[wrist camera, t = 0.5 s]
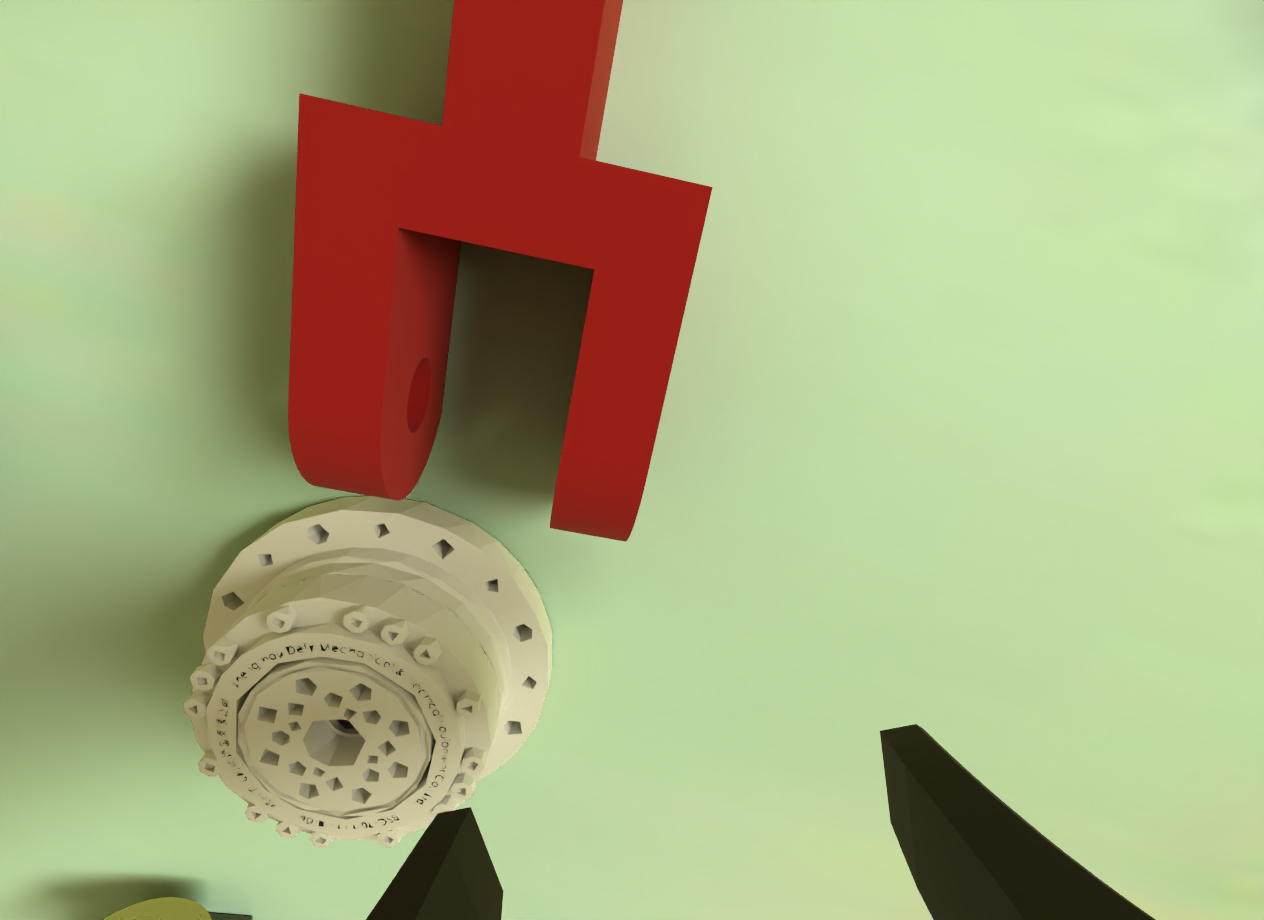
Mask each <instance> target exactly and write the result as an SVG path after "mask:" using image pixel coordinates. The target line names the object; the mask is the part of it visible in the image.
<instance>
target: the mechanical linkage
mask: <svg viewBox="0 0 1264 920" xmlns="http://www.w3.org/2000/svg"><path fill="white" fill-rule="evenodd" d="M622 3H623V0H455V1H454V11H453V21H452V31H451V41H450V51H449V61H448V71H447V81H446V91H445V101H444V111H443V121H442V126H441V125H436V124H432V123H427V122H423V121H419V120H414V119H410V118H405V117H401V116H397V115H392V114H388V113H383V112H379V111H375V110H370V109H366V108H361V107H357V106H353V105H348V104H344V103H339V102H335V101H331V100H326V99H322V98H317V97H313V96H309V95H304V94H300V96H299V124H298V152H297V180H296V208H295V236H294V264H293V292H292V320H291V348H290V376H289V404H288V422H289V435H290V443H291V448H292V453H293V456H294V460H295V463H296V465H297V468H298V470H299V471H300V473H301V475H302V476H303V478H304V479H305V480H306V481H307V482H309V483H310V484H312V485H314V486H319V487H324V488H330V489H335V490H341V491H347V492H352V493H358V494H363V495H369V496H375V497H380V498H386V499H391V500H397V501H398V500H402V499H403V498H405V497H406V496H407V495H408V494H409V493H410V492H411V491H412V489H413V488H414V487H415V485H416V483H417V482H418V480H419V478H420V476H421V474H422V472H423V470H424V468H425V465H426V463H427V460H428V458H429V455H430V452H431V449H432V446H433V443H434V440H435V436H436V433H437V429H438V425H439V421H440V417H441V412H442V404H443V395H444V387H445V378H446V369H447V360H448V352H449V343H450V334H451V325H452V317H453V308H454V299H455V290H456V281H457V273H458V264H459V255H460V246H461V241H464V242H468V243H473V244H478V245H482V246H487V247H492V248H496V249H501V250H506V251H510V252H515V253H520V254H524V255H529V256H534V257H539V258H543V259H548V260H553V261H557V262H562V263H567V264H571V265H576V266H581V267H585V268H590V269H594V274H593V280H592V286H591V291H590V297H589V302H588V308H587V314H586V319H585V325H584V330H583V336H582V341H581V347H580V353H579V358H578V364H577V369H576V375H575V381H574V386H573V392H572V397H571V403H570V409H569V414H568V420H567V425H566V431H565V436H564V442H563V448H562V453H561V459H560V464H559V470H558V476H557V482H556V488H555V494H554V500H553V506H552V513H551V521H550V528H553V529H559V530H564V531H570V532H576V533H581V534H587V535H592V536H598V537H604V538H609V539H615V540H620V541H627V539H628V538H629V536H630V534H631V531H632V528H633V526H634V523H635V520H636V516H637V513H638V509H639V506H640V502H641V498H642V495H643V490H644V486H645V482H646V478H647V474H648V469H649V465H650V460H651V456H652V452H653V447H654V443H655V438H656V434H657V429H658V425H659V421H660V416H661V412H662V407H663V403H664V399H665V394H666V390H667V385H668V381H669V376H670V372H671V368H672V363H673V359H674V354H675V350H676V346H677V341H678V337H679V332H680V328H681V323H682V319H683V315H684V310H685V306H686V301H687V297H688V293H689V288H690V284H691V279H692V275H693V270H694V266H695V262H696V257H697V253H698V248H699V244H700V239H701V235H702V231H703V226H704V222H705V217H706V213H707V209H708V204H709V200H710V195H711V191H712V187H709V186H704V185H700V184H696V183H691V182H687V181H682V180H678V179H674V178H669V177H665V176H660V175H656V174H652V173H647V172H643V171H638V170H634V169H630V168H625V167H621V166H617V165H612V164H608V163H603V162H599V161H596V156H597V150H598V144H599V138H600V132H601V126H602V120H603V115H604V109H605V103H606V97H607V91H608V85H609V79H610V74H611V68H612V62H613V56H614V50H615V44H616V38H617V33H618V27H619V21H620V15H621V9H622Z"/></svg>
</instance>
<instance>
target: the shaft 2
mask: <svg viewBox="0 0 1264 920" xmlns="http://www.w3.org/2000/svg"><path fill="white" fill-rule="evenodd" d="M103 920H252V916H242V915H230V914H218V913H208V912H207V911H206V909H205V908H203V907H202V906H201V905H200V904H198V903H196V902H194V901H192V900H189V899H185V898H179V897H163V898H155V899H150V900H146V901H143V902H139V903H136V904H133V905H131V906H128V907H126V908H123V909H121V910H119V911H117V912H115V913H113V914H111V915H109V916H108V917H106V918H104V919H103Z"/></svg>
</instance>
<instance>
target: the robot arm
mask: <svg viewBox="0 0 1264 920" xmlns="http://www.w3.org/2000/svg"><path fill="white" fill-rule="evenodd" d="M880 735H881V743H882V752H883V760H884V769H885V777H886V786H887V794H888V803H889V811H890V820H891V824H892V826H893V829H894V831H895V834H896V836H897V839H898V841H899V844H900V847H901V849H902V852H903V854H904V857H905V859H906V861H907V864H908V866H909V869H910V871H911V874H912V876H913V878H914V881H915V883H916V886H917V888H918V890H919V892H920V894H921V896H922V898H923V900H924V902H925V904H926V906H927V908H928V910H929V912H930V914H931V915H932V917H933V919H934V920H1155V919H1154V918H1152V917H1151V916H1150V915H1148V914H1147V913H1145V912H1144V911H1142V910H1141V909H1140V908H1138V907H1137V906H1135V905H1134V904H1133V903H1131V902H1130V901H1128V900H1127V899H1126V898H1124V897H1123V896H1121V895H1120V894H1119V893H1117V892H1116V891H1115V890H1113V889H1112V888H1111V887H1109V886H1108V885H1107V884H1105V883H1104V882H1102V881H1101V880H1100V879H1098V878H1097V877H1096V876H1095V875H1093V874H1092V873H1091V872H1089V871H1088V870H1087V869H1085V868H1084V867H1083V866H1082V865H1080V864H1079V863H1078V862H1076V861H1075V860H1074V859H1072V858H1071V857H1070V856H1068V855H1067V854H1066V853H1065V852H1063V851H1062V850H1061V849H1060V848H1058V847H1057V846H1056V845H1055V844H1053V843H1052V842H1051V841H1050V840H1048V839H1047V838H1046V837H1045V836H1043V835H1042V834H1041V833H1040V832H1038V831H1037V830H1036V829H1035V828H1034V827H1032V826H1031V825H1030V824H1029V823H1028V822H1026V821H1025V820H1024V819H1023V818H1022V817H1021V816H1019V815H1018V814H1017V813H1016V812H1015V811H1013V810H1012V809H1011V808H1010V807H1009V806H1007V805H1006V804H1005V803H1004V802H1003V801H1001V800H1000V799H999V798H998V797H997V796H996V795H995V794H993V793H992V792H991V791H990V790H989V789H988V788H986V787H985V786H984V785H983V784H982V783H981V782H980V781H979V780H978V779H976V778H975V777H974V776H973V775H972V774H971V773H970V772H969V771H967V770H966V769H965V768H964V767H963V766H962V765H961V764H960V763H959V762H958V761H957V760H955V759H954V758H953V757H952V756H951V755H950V754H949V753H948V752H947V751H946V750H945V749H944V748H943V747H942V746H941V745H939V744H938V743H937V742H936V741H935V740H934V739H933V738H932V737H931V736H930V735H929V734H928V733H927V732H926V731H925V730H924V729H923V728H921V727H920V726H918V725H917V724H915V725H910V726H904V727H899V728H893V729H888V730H883V731H880ZM502 900H503V890H502V887H501V884H500V882H499V879H498V877H497V874H496V872H495V869H494V866H493V864H492V861H491V859H490V856H489V853H488V851H487V848H486V846H485V843H484V841H483V838H482V835H481V833H480V830H479V828H478V825H477V822H476V820H475V817H474V815H473V812H472V810H471V807H470V808H464V809H459V810H454V811H448V812H443V813H438V814H437V815H436V816H435V818H434V819H433V821H432V822H431V824H430V825H429V827H428V828H427V830H426V831H425V832H424V834H423V835H422V837H421V838H420V840H419V841H418V843H417V844H416V846H415V847H414V849H413V850H412V852H411V853H410V855H409V856H408V858H407V859H406V861H405V862H404V864H403V866H402V867H401V869H400V870H399V872H398V873H397V875H396V876H395V878H394V879H393V881H392V882H391V884H390V885H389V887H388V888H387V890H386V891H385V893H384V894H383V896H382V897H381V898H380V900H379V901H378V903H377V904H376V906H375V907H374V909H373V910H372V912H371V913H370V914H369V916H368V917H367V919H366V920H501V913H502Z"/></svg>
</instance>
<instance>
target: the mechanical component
mask: <svg viewBox="0 0 1264 920" xmlns="http://www.w3.org/2000/svg"><path fill="white" fill-rule="evenodd" d="M203 640H204V647H205V653H206V654H205V656H204V659H203V661H202V664H201V666H198V667H197V668H196V670H195V671H194V672H193V674H192V675H191V677H190V680H191V684H192V685H193V687H192V695H191V697H190V698H189V699H188V700H187V701H186V702H185V703H184V704H183V706H184V712H185V713H186V714H187V715H188V716H190V717H191V721H192V724H193V727H194V730H195V733H196V736H197V739H198V743H199V744H200V746H201V747H202V749H203V750H204V752H205V755H204V756H203V757H202V759H201V760H200V762H199V763H198V764H199V768H200V772H202V773H204V774H206V775H208V776H216V775H217V774H219V776H220V778H221V779H222V781H223V782H224V784H225V786H227V787H228V788H229V789H230V790H232V791H233V792H234V793H236V794H237V795H238V796H240V797H241V798H242V799H243V800H245V801H246V802H247V803H249V805H248V807H247V809H246V812H245V814H246V816H247V818H248V819H249V820H251V821H253V822H263V821H264V820H266V819H267V818H268V817H269V818H271V819H273V820H276V821H278V822H279V823H278V824H277V829H276V831H277V832H278V833H279V835H280V836H282V837H286V838H292V837H296V836H297V834H298V833H299V831H302V832H307V833H311V834H312V835H311V837H310V841H311V842H312V843H313V845H314V846H317V847H327V846H329V845H330V844H331V843H332V841H333V839H338V840H378V841H379V844H381V845H383V846H385V847H393V846H395V845H396V844H397V843H399V841H400V839H401V837H402V835H404V834H408V833H412V832H415V831H417V830H419V829H421V828H424V827H426V826H428V825H430V824H431V822H432V821H433V819H434V818H435V816H436V815H437V814H438V813H443V812H448V811H454V810H456V808H457V807H458V806H459V805H460V804H462V803H463V801H464V800H466V799H467V798H469V797H470V796H471V795H473V794H474V790H475V785H476V783H477V782H478V781H479V780H480V779H481V778H483V777H485V776H487V775H489V774H491V773H493V772H494V771H495V770H497V769H498V768H499V767H500V766H501V765H503V764H504V763H505V762H506V761H507V760H509V759H510V758H511V757H512V756H513V755H515V754H516V752H517V751H518V750H519V748H520V747H521V746H522V744H523V743H524V742H525V740H526V739H527V738H528V736H529V735H530V733H531V732H532V731H533V729H534V728H535V727H536V725H537V723H538V720H539V716H540V713H541V710H542V707H543V704H544V700H545V697H546V694H547V691H548V687H549V681H550V675H551V669H552V629H551V626H550V623H549V620H548V617H547V614H546V611H545V608H544V605H543V602H542V599H541V596H540V594H539V591H538V590H537V588H536V587H535V585H534V584H533V582H532V581H531V579H530V578H529V576H528V575H527V573H526V572H525V570H524V568H523V567H522V565H521V564H520V563H519V562H518V561H517V560H516V559H515V558H514V557H513V556H512V555H511V554H510V553H509V552H508V551H507V549H506V548H505V547H504V546H503V545H502V544H501V543H500V542H499V541H498V540H496V539H495V538H493V537H492V536H491V535H489V534H488V533H486V532H485V531H483V530H482V529H481V528H479V527H478V526H476V525H475V524H474V523H472V522H470V521H468V520H465V519H463V518H461V517H458V516H456V515H454V514H451V513H449V512H447V511H444V510H442V509H439V508H437V507H435V506H432V505H430V504H428V503H425V502H420V501H413V500H406V499H402V500H398V501H397V500H391V499H386V498H380V497H375V496H360V497H343V498H339V499H335V500H331V501H328V502H324V503H320V504H316V505H313V506H309V507H307V508H305V509H303V510H301V511H299V512H297V513H296V514H294V515H292V516H290V517H288V518H286V519H284V520H283V521H281V522H279V523H277V524H276V525H274V526H273V527H272V528H270V529H269V530H268V531H267V532H265V533H264V534H263V535H261V536H260V537H259V538H257V539H256V540H255V541H254V542H252V543H251V544H250V545H248V546H247V547H246V548H244V549H243V550H242V551H241V552H240V553H239V555H238V556H237V557H236V559H235V560H234V562H233V563H232V564H231V566H230V567H229V569H228V570H227V571H226V573H225V574H224V576H223V577H222V578H221V580H220V581H219V583H218V584H217V585H216V587H215V588H214V590H213V593H212V597H211V602H210V606H209V611H208V615H207V620H206V624H205V629H204V633H203Z"/></svg>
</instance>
